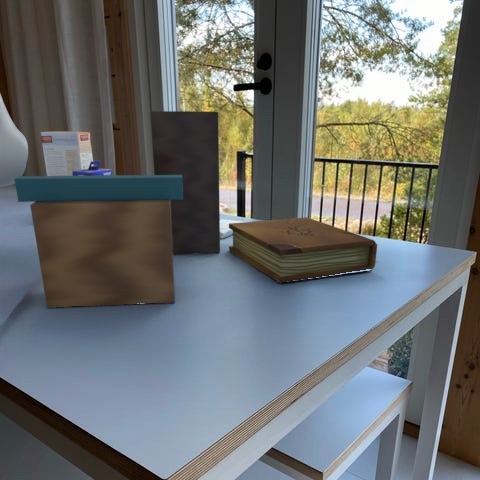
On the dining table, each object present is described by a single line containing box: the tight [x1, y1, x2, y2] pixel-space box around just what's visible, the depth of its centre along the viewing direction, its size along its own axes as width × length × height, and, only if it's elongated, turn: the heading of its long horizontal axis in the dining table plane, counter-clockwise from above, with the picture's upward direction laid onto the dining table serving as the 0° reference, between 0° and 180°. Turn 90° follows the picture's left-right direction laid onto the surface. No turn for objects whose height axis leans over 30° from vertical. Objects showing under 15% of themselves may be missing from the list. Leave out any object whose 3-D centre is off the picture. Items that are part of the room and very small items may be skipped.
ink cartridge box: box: [72, 160, 113, 176], centre depth 126 cm, size 10×6×14 cm, turn 154°
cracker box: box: [40, 130, 94, 176], centre depth 144 cm, size 14×6×21 cm, turn 66°
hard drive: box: [220, 218, 243, 240], centre depth 112 cm, size 2×8×12 cm
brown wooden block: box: [29, 200, 176, 309], centre depth 69 cm, size 18×8×14 cm, turn 97°
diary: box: [228, 216, 378, 283], centre depth 89 cm, size 23×19×6 cm
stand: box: [150, 110, 221, 255], centre depth 93 cm, size 12×8×26 cm, turn 97°
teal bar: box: [14, 174, 183, 203], centre depth 65 cm, size 22×3×3 cm, turn 97°
